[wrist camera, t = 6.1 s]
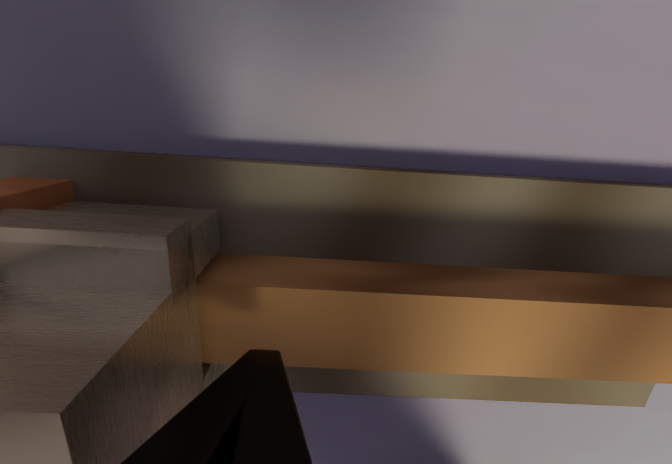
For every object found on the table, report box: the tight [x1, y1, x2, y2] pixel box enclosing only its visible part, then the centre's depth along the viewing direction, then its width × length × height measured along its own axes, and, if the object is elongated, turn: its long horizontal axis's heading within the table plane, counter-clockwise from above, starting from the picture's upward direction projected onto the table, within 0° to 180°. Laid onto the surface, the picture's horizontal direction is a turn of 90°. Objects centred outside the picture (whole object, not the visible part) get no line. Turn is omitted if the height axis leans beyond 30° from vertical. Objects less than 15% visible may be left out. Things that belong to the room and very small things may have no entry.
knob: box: [0, 201, 226, 464], centre depth 7 cm, size 4×6×6 cm, turn 177°
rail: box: [0, 144, 672, 407], centre depth 9 cm, size 22×8×5 cm, turn 86°
